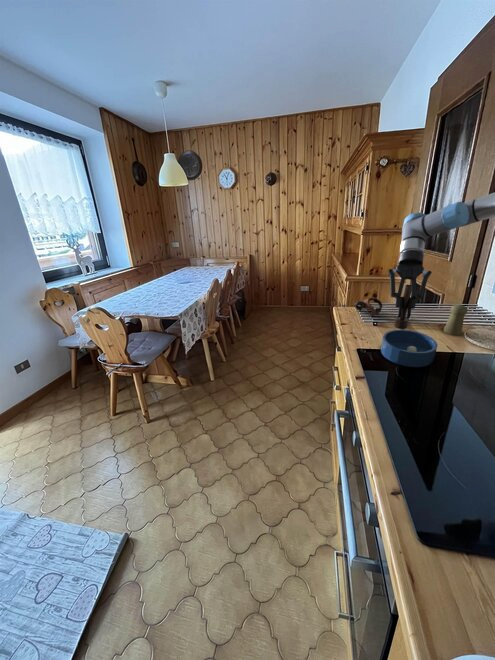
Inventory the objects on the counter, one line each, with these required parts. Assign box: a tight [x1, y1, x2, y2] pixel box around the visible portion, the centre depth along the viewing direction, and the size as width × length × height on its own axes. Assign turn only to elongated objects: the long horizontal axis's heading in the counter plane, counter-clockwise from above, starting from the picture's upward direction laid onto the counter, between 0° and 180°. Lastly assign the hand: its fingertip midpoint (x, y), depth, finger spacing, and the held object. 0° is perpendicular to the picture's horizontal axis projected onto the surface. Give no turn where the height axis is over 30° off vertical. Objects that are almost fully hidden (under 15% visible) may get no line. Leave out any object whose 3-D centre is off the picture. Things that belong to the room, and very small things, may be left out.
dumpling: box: [407, 346, 417, 352], centre depth 98 cm, size 3×3×3 cm
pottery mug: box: [354, 297, 383, 317], centre depth 132 cm, size 12×10×8 cm
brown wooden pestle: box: [393, 284, 412, 330], centre depth 96 cm, size 4×4×15 cm
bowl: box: [380, 329, 439, 368], centre depth 99 cm, size 17×17×6 cm
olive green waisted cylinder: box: [443, 304, 468, 336], centre depth 110 cm, size 6×6×11 cm
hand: (403, 316), depth 93 cm, fingers closed on brown wooden pestle, 2 cm apart
